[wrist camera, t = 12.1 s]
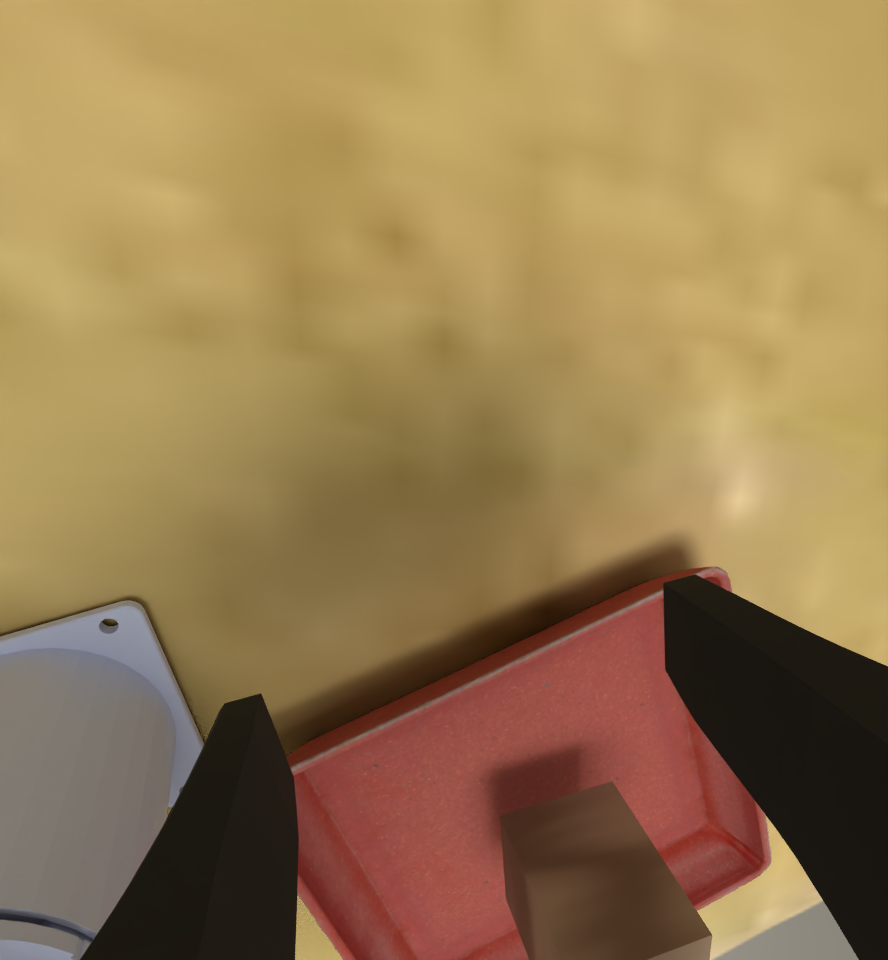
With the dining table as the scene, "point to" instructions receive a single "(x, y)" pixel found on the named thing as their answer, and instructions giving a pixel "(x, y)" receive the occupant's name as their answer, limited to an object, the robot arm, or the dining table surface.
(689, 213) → the dining table surface
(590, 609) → the plant saucer
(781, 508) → the dining table surface
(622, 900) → the walnut block
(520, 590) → the dining table surface
